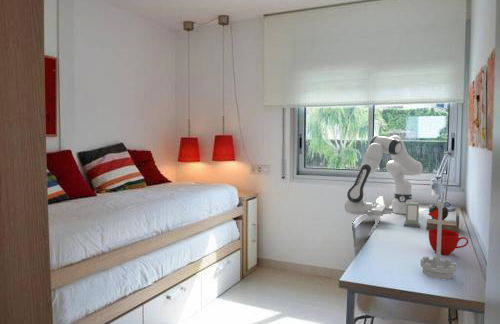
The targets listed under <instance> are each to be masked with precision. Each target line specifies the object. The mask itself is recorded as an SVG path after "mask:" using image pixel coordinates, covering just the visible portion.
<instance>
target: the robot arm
mask: <svg viewBox="0 0 500 324" xmlns="http://www.w3.org/2000/svg"><path fill="white" fill-rule="evenodd" d="M383 154H387V155H390V157H391V160H388V162H387V163H386V166H385V170H386V171H387V173H388V174H390V175H391V177H392V178H393V180H394V187H395V188H394V191H395V192H394V195H393V197H394V198H393V200H391V207H387V205H385V204H380V203H375V202H367V201H366V198H367V194H366V191H365V190H364V187H365V186H366V183H367V180H368V179H369V177H370V176H371V175H372V174H373V173H375V172H376V171H377V170H378V168H379V165H380V163H381V161H382V158H383ZM423 170H424V168H423V164H422V162H421V161H418V160H416V159H415V158H413V157H412V156H411V155H410V154H409V152H408V151H407V148H406V145H405V143H404V141H403V139H402V138H401V136H398V135H392V136H390V137H389V136H382V135H374V136H373V137H371V139H370V141H369V146H368V147H367V149H366V151H365V154H364V156H363V159H362V161H361V166H360V169H359V172H358V174H357V177H356V179H355V181H354V184H353V185H352V186H351V187H350V188H349V189H348V191H347V193H346V194H347V195H346V196H347V200H346V201H345V202H344V209H345V212H346V213H348V214H350V215H355V216H359V215H362V216H365V215H364V214H367V215H369V216H368V217H373V216H377V217H378V216H379V217H381V216H383V215H391V214H392V213H394V214H399V215H406V204H407V202H413V203H415V201H413V200H412V197H413V196H412V195H413V194H412V183H411V181H410V180H407V178H406V177H405V176H410V177H411V176H420V175H421V174H422V173H423Z"/></svg>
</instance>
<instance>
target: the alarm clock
mask: <svg viewBox="0 0 500 324" xmlns="http://www.w3.org/2000/svg"><path fill="white" fill-rule="evenodd" d="M440 199H441V201H440V202H443V198H441V197H440ZM438 200H439V198H437V199H436V201H437V202H436V203H433V204H432V205H431V206H430V207H429V208H428V209H429V210H428V214H429V213H431V212H433V211H435V210H437V209H438V208H437V206H436V204H437V203H438V202H439V201H438ZM430 217H431V219H436V218H434V217H432V216H430ZM447 217H449V209H448V207H447V206H445V205H444V208H443V209H442V220H446V219H447ZM437 220H438V219H437Z"/></svg>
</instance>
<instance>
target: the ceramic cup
mask: <svg viewBox="0 0 500 324" xmlns="http://www.w3.org/2000/svg"><path fill="white" fill-rule="evenodd" d="M428 239H429V240H428V241H429V242H428V243H429V244H430V247H431V248H432V250H433V251H434V252H435V253H436V252H437V229H433V230H428ZM462 239H463V240H466V243H464V244H462V245H459V246H458V244H459V242H460V240H462ZM468 245H469V238H467V237H465V236H461V237H460V233H457V232H454V231H449V230H442V231H441V255H444V256H449V255H451V254H452V253H453V252H454V251H455V250H456V249H462V248H465V247H466V246H468Z"/></svg>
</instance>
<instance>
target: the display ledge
mask: <svg viewBox="0 0 500 324" xmlns="http://www.w3.org/2000/svg"><path fill="white" fill-rule="evenodd" d="M459 225H460V214H459V211H456V212H455V220H446V219H444V220H442V230H449V231H454V232H457V233H458V234H460V233H459V232H460V231H459V230H460V229H459V228H460V226H459ZM437 226H438V220H437V219H432V218H427V219H426V230H427V231H429V230H433V229H437Z"/></svg>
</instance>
